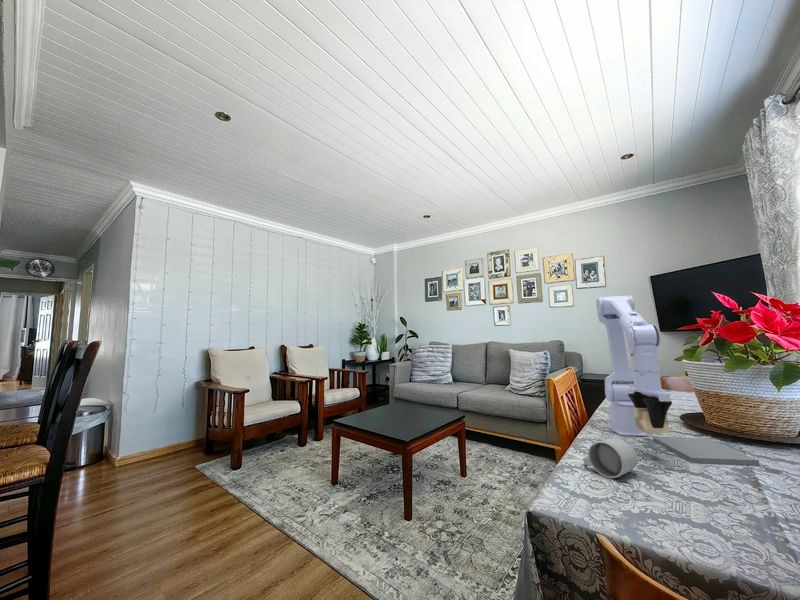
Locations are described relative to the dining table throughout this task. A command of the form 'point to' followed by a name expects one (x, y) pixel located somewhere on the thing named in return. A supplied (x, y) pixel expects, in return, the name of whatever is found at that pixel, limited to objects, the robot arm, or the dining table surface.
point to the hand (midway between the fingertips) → (651, 424)
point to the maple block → (648, 422)
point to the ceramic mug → (611, 457)
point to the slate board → (704, 451)
